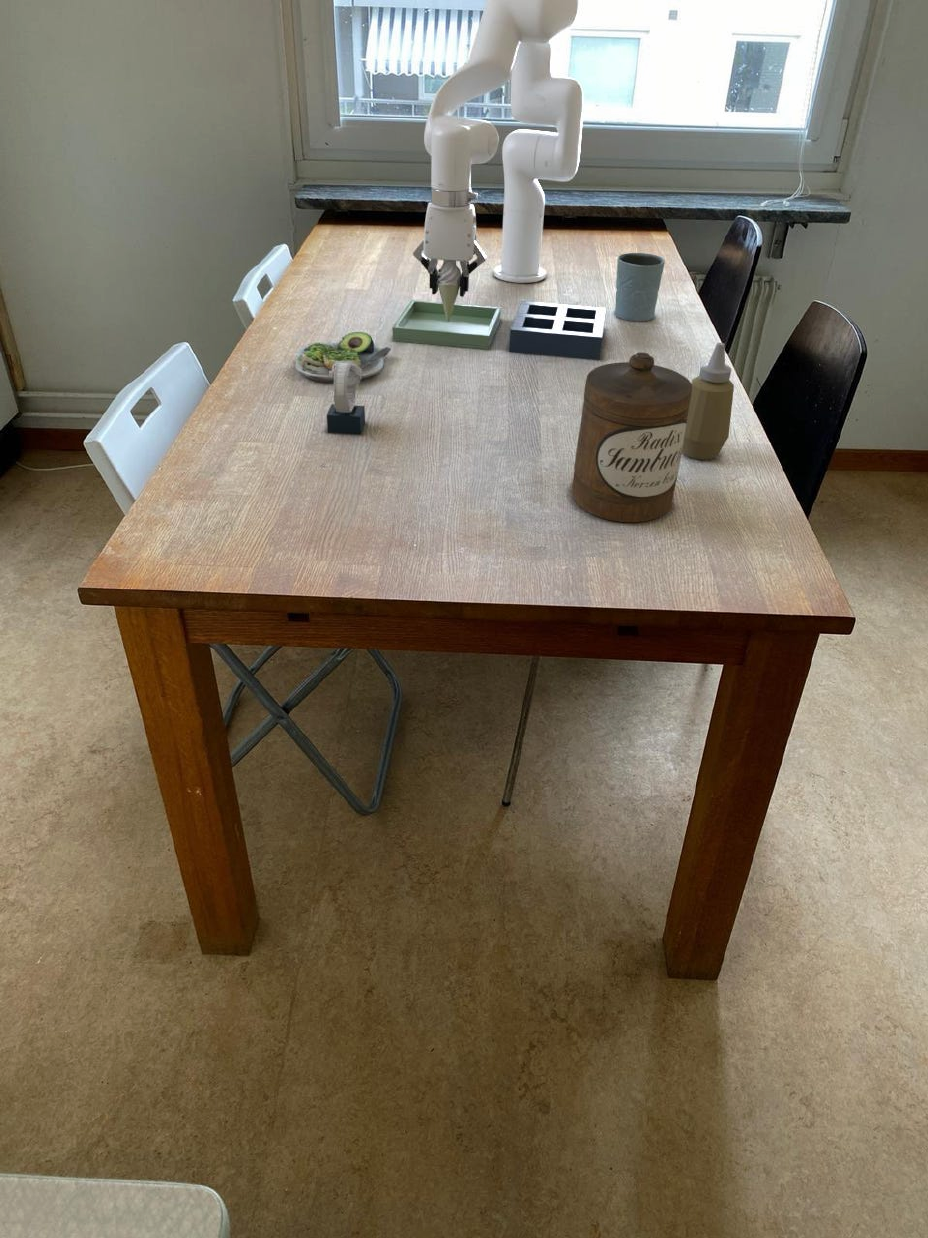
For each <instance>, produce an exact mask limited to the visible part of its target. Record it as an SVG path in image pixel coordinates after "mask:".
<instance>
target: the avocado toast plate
mask: <svg viewBox="0 0 928 1238" xmlns="http://www.w3.org/2000/svg"><path fill="white" fill-rule="evenodd" d="M341 339H342V340H340V341H339V342H324V341H323V342H313V343H309V344H305V345H304V346H301V347H300V348H299V349H298V351H297V353H296V359H295V362H294V363H295V364H294V365H295V371H296V372H298V373H299V374H301V375H302V376H304V377H305V378H307V379H310V380H312V381H314V382H318V383H326V384H327V383H328V384H329V383H330V384H331V383H333V384H334V379H333V377H332V376H330V375H329V371H332V367H333V365H334V364H335V363H337V362H340V361H348V362H352V363H355V364H356V365H358V366H359V367H360V368H361V370H362V376H361V380H363V379H366V378H369V377H372V376H375V375H377V374H379V373H380V372H381V371H382V369H383V368H384V367H383V366H384V358H385V357H386V356H387V355H388V354H389V353H390V352H391V351H392V348H390V347H389V346H385V347H384V348H383V347H380V346H378V345H376V344H375V343H374V340H373V337H372V336H371V335H370V334H369V333H367V332H364V331H354V332H350V333H347V334H345V336H342V337H341Z"/></svg>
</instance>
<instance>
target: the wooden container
mask: <svg viewBox="0 0 928 1238" xmlns="http://www.w3.org/2000/svg"><path fill="white" fill-rule="evenodd" d="M691 382H692V381H690V380H689V379H688V378H687V377H686V376H684V375H683V374H681V373H680V372H678V371H675V370H673V369H670V368H668V367H664V366H660V365H656V364H655V358H654V357H653V356H652V355H650V354H649V353H647V352H642V351H641V352H640V351H639V352H636V353H635V354H633V355H632V356H631V357H629V359H628V361H620V362H612V363H606V364H603V365H599V366H597V367H594V368H593V369H592V370H590V371H589V372H588V373H587V375H586V379H585V382H584V391H583V401H582V402H583V403H582V411H581V418H580V425H579V431H578V437H577V442H576V443H577V444H576V451H575V459H574V466H573V467H574V468H573V470H574V471H573V477H572V484H571V496H572V499H573V501H574V502H575V504H576V505H577V506H578V507H579V508H581V509H582V510H584V511H585V512H586V513H589V514H590V515H593V516H595V517H598V518H602V519H605V520H608V521H613V522H618V523H619V522H620V523H641V522H648V521H653V520H655V519H657V518H660V517H661V516H663V515H665V514H666V513H667V512H668V511H669V510H670V509H671V507H672V504H673V500H674V494H675V489H676V485H677V481H678V480H677V479H678V475H679V470H680V465H681V461H682V454H683V452H682V448H683V441H684V435H685V430H686V424H687V418H688V410H689V406H690V401H691V396H692V384H691Z"/></svg>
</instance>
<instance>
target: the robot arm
mask: <svg viewBox="0 0 928 1238" xmlns="http://www.w3.org/2000/svg"><path fill="white" fill-rule="evenodd" d="M578 13H579V0H486V2H485V5H484V8H483V12H482V15H481V18H480V21H479V24H478V28H477V32H476V34H475V38H474V41H473V45H472V47H471V50H470V53H469V54H470V55H469V59H468V60H467V62H466V63H465V64H463V65H462V66H461V67H459V68H458V69H457V70H456V71H455V72H453V73H452V74H451V75H450V76H449V77H448V78H447V79H446V80H445V81H444V83H442V84H441V86H440V87H439V88H438V90H437V91H436V93H435V95H434V97H433V100H432V102H431V105H430V109H429V112H428V116H427V119H426V122H425V127H424V134H423V143H424V148H425V150H426V152H427V153H428V155H430V157H431V165H430V167H431V170H430V171H431V175H430V176H431V178H430V179H431V181H430V185H431V186H430V202H428V203H427V207H426V214H425V221H424V230H423V240H422V241H421V242H420V243H419V245H418V246H417V247H416V248H415V249H414V251H413V252H412V256H413V257H414V258H415V259H416V260H417V261H418V262H420V264H421V265H422V266H423V267H424V268H425V270H426V271H427V273H428V274H429V289H431V294H432V295H436V294H437V293H438V291H439V287H438V283H437V280H438V279H439V278H438V276H437V275H438V273H439V272H438V270H439V269H438V268H437V266H438V263H439V261H443V260H450V261H456V262H459V265H460V270H461V277H460V288H459V296H460V297H461V298H463V297H464V296H465V294H466V292H469V287H470V285H469V283H470V274H472V272H474V271H475V270H476V269H477V268H478V267H479V266H481V265H482V264H484V263H485V262H486V260H487V255H486V254H485V252H484V251H483V249H482V248H481V246H480V245H479V244H478V242H477V217H476V216H477V215H476V209H475V204H472V202H475V201H478V200H479V199H478V198H479V193H478V192H475V191H473V190H472V187H471V186H472V165H482V164H486V163H488V162H490V161H491V160H492V159H493V158H494V157H495V155H496V153H497V151H498V148H499V143H500V141H499V133H498V130H497V128H496V127H495V125H494V124H493V123H491V122H490V121H488V120H484V119H477V118H470V117H469V118H468V117H463V116H454V114H455V113H456V111H457V110H458V109H459V108H460V107H461V106H463V105H464V104H466V103H467V102H469V101H471V100H474V99H477V98H479V97H481V96H484V95H488V94H489V93H491V92H494V91H496V90H499V89H501V88H503V87H504V86H505V85H506V84H507V83H508V82H509V80H510V78H511V80H510V81H511V82H510V111H511V112H510V113H511V116H512V118H513V120H514V121H516V122H518V123H521V124H525V125H532V126H533V125H534V126H543V127H552V128H555V129H556V132H551V131H544V130H543V131H542V130H534V129H517V130H514V131H511V132H510V133H508V134H507V135H506V137H505V138H504V140H503V143H502V148H501V159H502V167H503V179H504V182H503V183H504V184H503V185H504V190H503V191H504V193H503V212H502V213H503V214H502V232H501V252H500V253H501V254H500V265H498V266H496V267H494V269H493V275H494V277H495V278H497V279H499V280H502V281H505V282H509V283H517V284H518V283H519V284H530V283H536V282H540V281H543V280H544V279H545V278H546V274H547V271H546V270H545V269H544V268H542V267H541V257H542V243H543V242H542V241H543V231H544V216H545V205H546V198H545V192H544V190H543V189H542V186H541V184H540V183H539V181H538V180H544V181H553V182H569V181H571V180H573V178H574V177H575V176H576V174H577V172H578V168H579V164H580V156H581V144H582V132H583V131H582V130H583V119H584V91H583V87H582V85H581V83H580V82H579V81H578V80H577V79H575V78H573V77H567V76H556V75H553V73H552V59H553V56H552V55H553V47H552V43H553V42H555V41H557V40H558V39H560V38H561V37H564V36H565V35H567V34H568V33H569V32H570V31H571V30H572V29H573V26H574V25H575V22H576V20H577V18H578ZM474 255H475V257H476V258H475V259H474V260H473V258H474ZM471 260H473V261H472V262H470V261H471Z"/></svg>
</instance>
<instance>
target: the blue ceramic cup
mask: <svg viewBox="0 0 928 1238" xmlns="http://www.w3.org/2000/svg"><path fill="white" fill-rule="evenodd" d="M665 262H666V261H665V259H664V258H663V257H662V256H659V255H656V254H651V253H644V252H628V253H622V254H619V255H618V256H617V259H616V279H615V289H616V290H615V306H614V315H615V316H616V317H617V318H618V319H620V320H624V321H629V322H637V323H638V322H639V323H640V322H648V321H651V320H652V319H654V316H655V312H656V308H657V307H656V305H657V301H658V298H659V291H660V286H661V282H662V278H663V273H664V268H665Z"/></svg>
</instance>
